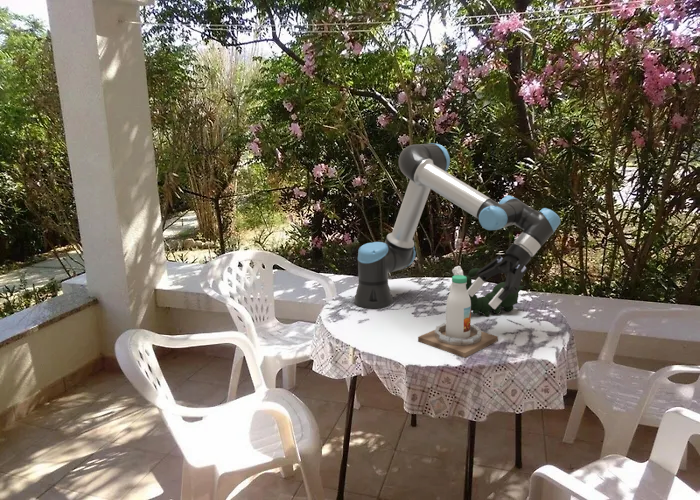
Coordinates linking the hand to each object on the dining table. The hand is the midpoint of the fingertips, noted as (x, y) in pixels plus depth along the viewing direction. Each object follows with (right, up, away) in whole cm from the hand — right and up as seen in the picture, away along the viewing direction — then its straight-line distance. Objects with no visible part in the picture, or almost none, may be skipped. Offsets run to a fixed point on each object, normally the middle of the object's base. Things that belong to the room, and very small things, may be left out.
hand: (479, 300), depth 167 cm
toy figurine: (+11, -7, +27) cm, 30 cm away
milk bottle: (-7, -12, +1) cm, 14 cm away
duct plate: (-7, -13, +1) cm, 15 cm away
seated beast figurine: (+3, -2, +49) cm, 49 cm away
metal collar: (-7, -12, +1) cm, 14 cm away
